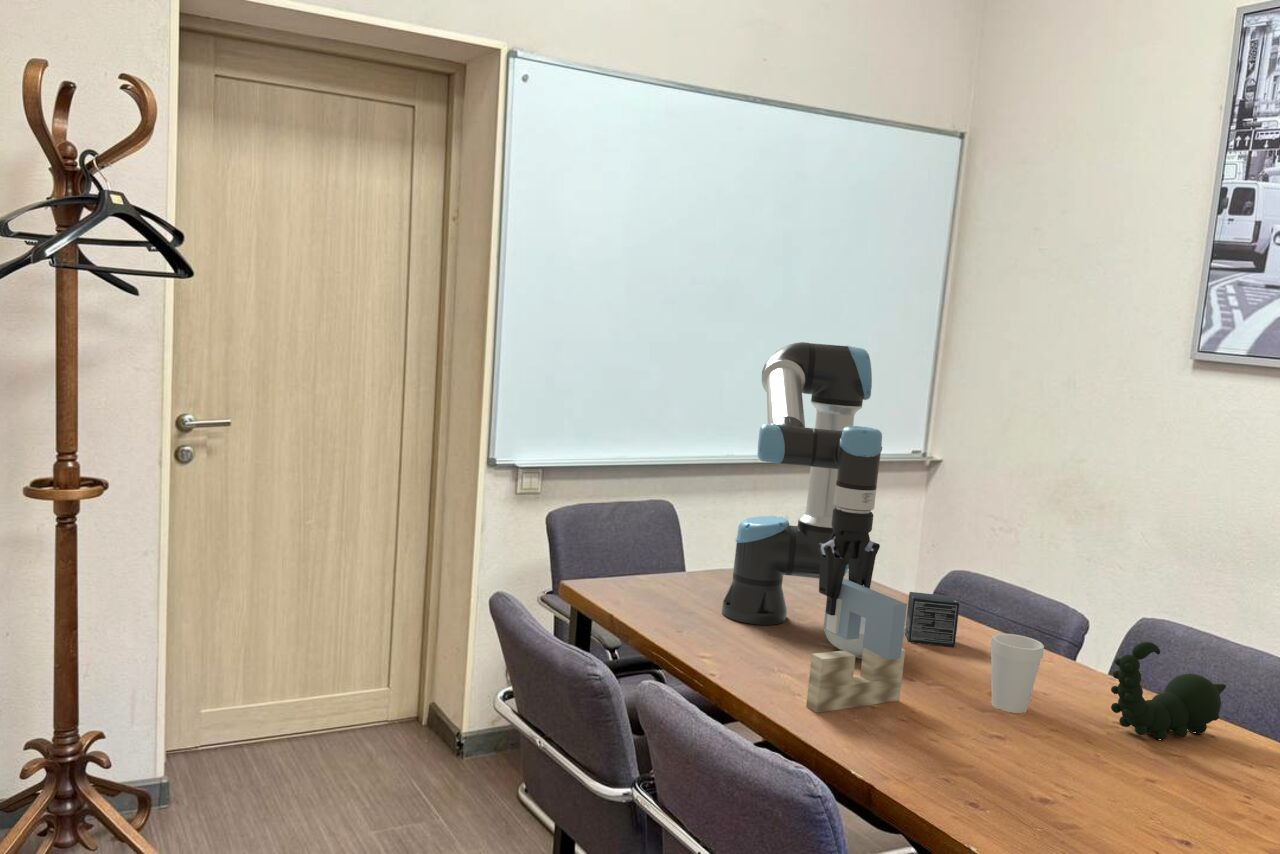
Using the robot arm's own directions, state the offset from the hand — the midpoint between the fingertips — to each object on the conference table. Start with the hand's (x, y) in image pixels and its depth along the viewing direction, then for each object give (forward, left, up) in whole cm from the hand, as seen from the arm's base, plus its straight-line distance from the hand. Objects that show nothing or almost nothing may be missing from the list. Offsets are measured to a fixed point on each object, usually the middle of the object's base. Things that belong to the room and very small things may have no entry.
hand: (839, 630), depth 204 cm
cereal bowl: (-4, +28, -13) cm, 30 cm away
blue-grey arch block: (+5, -3, -1) cm, 6 cm away
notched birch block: (+5, -3, -12) cm, 14 cm away
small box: (+5, +49, -13) cm, 50 cm away
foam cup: (+29, +18, -12) cm, 36 cm away
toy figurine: (+56, +25, -13) cm, 63 cm away
